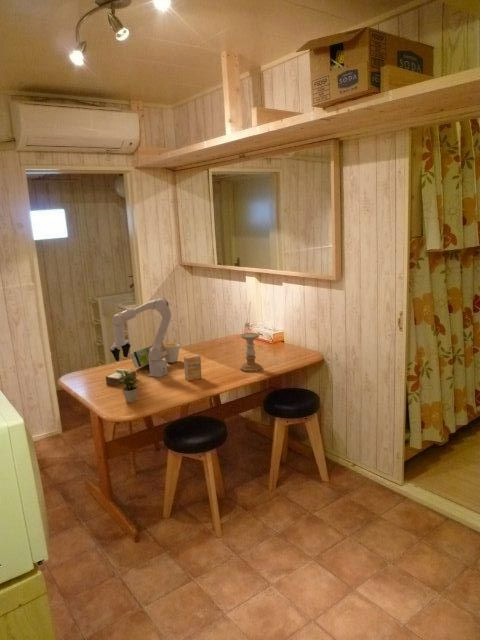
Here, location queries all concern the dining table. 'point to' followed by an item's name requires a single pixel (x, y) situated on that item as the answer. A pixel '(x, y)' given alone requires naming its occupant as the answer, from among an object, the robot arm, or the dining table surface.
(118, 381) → the walnut box
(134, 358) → the tea box
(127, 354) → the robot arm
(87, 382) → the dining table surface
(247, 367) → the candle holder
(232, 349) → the dining table surface
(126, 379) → the house plant
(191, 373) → the supplement box
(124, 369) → the cover plate
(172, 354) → the mug
